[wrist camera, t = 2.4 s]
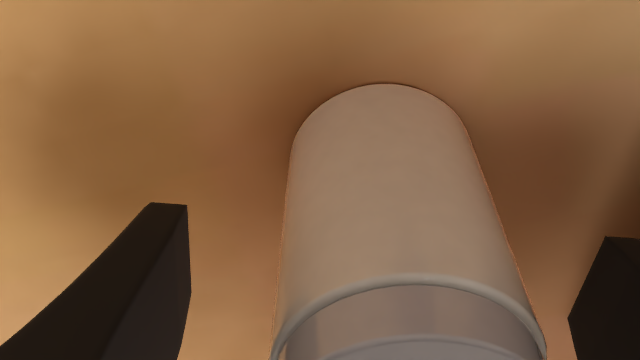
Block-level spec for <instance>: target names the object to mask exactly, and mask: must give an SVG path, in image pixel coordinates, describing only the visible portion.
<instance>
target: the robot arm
mask: <svg viewBox="0 0 640 360" xmlns="http://www.w3.org/2000/svg"><path fill="white" fill-rule="evenodd" d="M190 297H191V273H190V253H189V232H188V212H187V205H181V204H167V203H154V202H151V203H149V204H148V205H147V206H146V207H144V208H143V210H142V211H141V212H140V213H139V214H138V215H137V216H136V217H135V218H134V219H133V221H132V222H131V223H130V224H129V225H128V226H127V227H126V228H125V229H124V230H123V232H122V233H121V234H120V235H119V236H118V237H117V238H116V239H115V240H114V241H113V242H112V243H111V244H110V245H109V246H108V247H107V248H106V250H105V251H104V252H103V253H102V254H101V255H100V256H99V257H98V258H97V259H96V260H95V261H94V262H93V263H92V264H91V265H90V266H89V267H88V268H87V269H86V270H85V271H84V272H83V273H82V274H81V275H80V276H79V277H78V278H77V279H76V280H75V281H74V282H73V283H72V284H70V285H69V286H68V287H67V288H66V289H65V290H64V291H63V292H62V293H61V294H60V295H59V296H58V297H56V298H55V299H54V300H53V301H52V302H51V303H50V304H49V305H48V306H46V307H45V308H44V309H43V310H42V311H41V312H40V313H39V314H37V315H36V316H35V317H34V318H33V319H32V320H31V321H30V322H29V323H27V324H26V325H25V326H24V327H23V328H22V329H20V330H19V331H18V332H17V333H16V334H14V335H13V336H12V337H11V338H10V339H8V340H7V341H6V342H5V343H4V344H2V345H1V346H0V360H177V357H178V354H179V351H180V348H181V344H182V339H183V334H184V329H185V324H186V319H187V313H188V308H189V302H190ZM568 322H569V326H570V331H571V335H572V339H573V343H574V348H575V351H576V355H577V359H578V360H640V239H634V238H621V237H608V236H605V238H604V240H603V243H602V245H601V247H600V249H599V251H598V253H597V256H596V258H595V260H594V262H593V264H592V266H591V269H590V271H589V273H588V275H587V277H586V279H585V282H584V284H583V286H582V288H581V290H580V292H579V295H578V297H577V299H576V301H575V303H574V305H573V308H572V310H571V312H570V314H569V316H568Z"/></svg>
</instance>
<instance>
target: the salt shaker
mask: <svg viewBox="0 0 640 360" xmlns="http://www.w3.org/2000/svg"><path fill="white" fill-rule="evenodd" d="M268 360H547V347H546V343H545V339H544V335H543V332H542V330H541V327H540V324H539V321H538V319H537V316H536V313H535V311H534V308H533V305H532V303H531V300H530V297H529V295H528V292H527V289H526V287H525V284H524V281H523V279H522V276H521V273H520V270H519V268H518V265H517V262H516V260H515V257H514V254H513V252H512V249H511V246H510V244H509V241H508V238H507V236H506V233H505V230H504V228H503V225H502V222H501V219H500V217H499V214H498V211H497V209H496V206H495V203H494V201H493V198H492V195H491V193H490V190H489V187H488V185H487V182H486V179H485V177H484V174H483V171H482V169H481V166H480V163H479V160H478V158H477V155H476V152H475V150H474V147H473V144H472V142H471V139H470V136H469V134H468V132H467V130H466V127H465V125H464V124H463V122H462V121H461V119H460V118H459V116H458V115H457V114H456V113H455V112H454V111H453V110H452V109H451V108H450V107H449V106H448V105H446V104H445V103H444V102H443V101H441V100H440V99H438V98H436V97H435V96H433V95H431V94H429V93H427V92H424V91H422V90H419V89H416V88H412V87H409V86H404V85H397V84H374V85H366V86H362V87H357V88H354V89H351V90H348V91H345V92H343V93H341V94H339V95H336V96H334V97H332V98H331V99H329V100H328V101H326V102H325V103H323V104H322V105H321V106H319V107H318V108H317V109H316V110H315V111H313V112H312V113H311V115H310V116H309V117H308V118H307V119H306V120H305V121H304V123H303V124H302V126H301V127H300V129H299V130H298V132H297V134H296V136H295V139H294V141H293V144H292V148H291V152H290V158H289V167H288V177H287V187H286V196H285V206H284V215H283V225H282V234H281V244H280V254H279V263H278V273H277V282H276V292H275V302H274V311H273V321H272V330H271V340H270V350H269V359H268Z"/></svg>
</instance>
